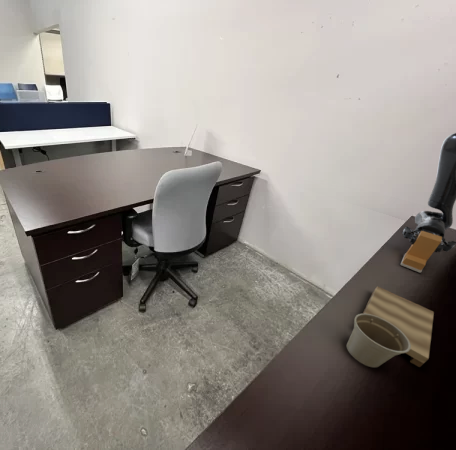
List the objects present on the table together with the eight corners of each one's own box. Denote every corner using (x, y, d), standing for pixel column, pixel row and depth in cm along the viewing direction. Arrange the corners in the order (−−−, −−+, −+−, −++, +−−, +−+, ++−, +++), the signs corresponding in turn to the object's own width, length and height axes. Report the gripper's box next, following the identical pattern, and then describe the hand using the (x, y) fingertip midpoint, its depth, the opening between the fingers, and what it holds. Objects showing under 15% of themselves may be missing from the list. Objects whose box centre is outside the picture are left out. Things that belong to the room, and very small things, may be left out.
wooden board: (370, 295, 73) (377, 286, 71) (424, 322, 65) (434, 311, 63) (353, 332, 61) (361, 321, 59) (417, 369, 53) (428, 358, 51)
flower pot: (390, 357, 55) (412, 333, 51) (385, 386, 49) (409, 362, 45) (343, 330, 61) (359, 306, 57) (333, 353, 55) (350, 329, 51)
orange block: (404, 254, 92) (421, 230, 86) (423, 261, 88) (442, 236, 83) (399, 264, 86) (417, 239, 80) (420, 272, 82) (440, 246, 77)
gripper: (410, 215, 95) (403, 227, 86) (463, 230, 86) (463, 246, 76) (400, 231, 99) (392, 245, 89) (450, 248, 90) (447, 264, 80)
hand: (425, 245), depth 83 cm, fingers closed on orange block, 5 cm apart
